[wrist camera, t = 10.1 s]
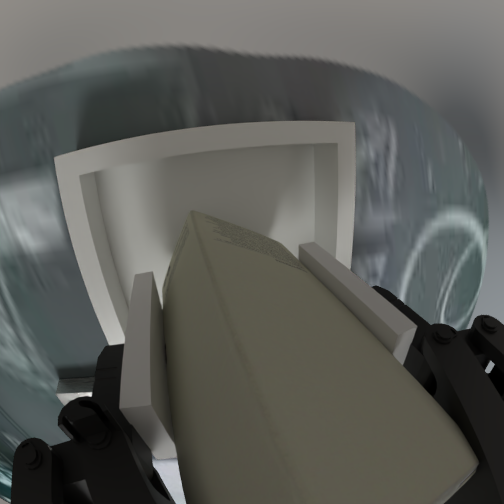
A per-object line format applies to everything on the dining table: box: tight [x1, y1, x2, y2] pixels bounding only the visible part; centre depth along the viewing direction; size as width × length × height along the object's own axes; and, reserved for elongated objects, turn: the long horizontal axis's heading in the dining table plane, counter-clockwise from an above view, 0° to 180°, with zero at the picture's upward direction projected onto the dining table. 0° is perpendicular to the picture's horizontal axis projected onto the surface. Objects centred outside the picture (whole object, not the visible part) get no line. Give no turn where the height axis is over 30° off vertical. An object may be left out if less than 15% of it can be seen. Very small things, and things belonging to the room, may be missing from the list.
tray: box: [54, 121, 356, 345], centre depth 14 cm, size 13×13×3 cm
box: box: [162, 210, 479, 504], centre depth 8 cm, size 5×4×13 cm
